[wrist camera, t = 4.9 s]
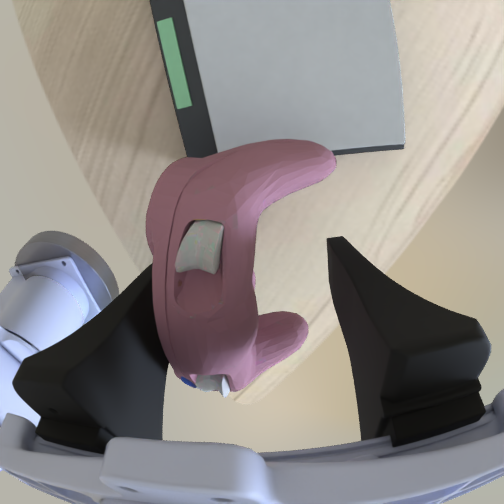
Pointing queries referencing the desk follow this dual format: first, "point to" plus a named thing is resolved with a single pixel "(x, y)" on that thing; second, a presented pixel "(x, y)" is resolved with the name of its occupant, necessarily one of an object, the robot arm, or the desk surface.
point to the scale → (282, 73)
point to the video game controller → (223, 260)
